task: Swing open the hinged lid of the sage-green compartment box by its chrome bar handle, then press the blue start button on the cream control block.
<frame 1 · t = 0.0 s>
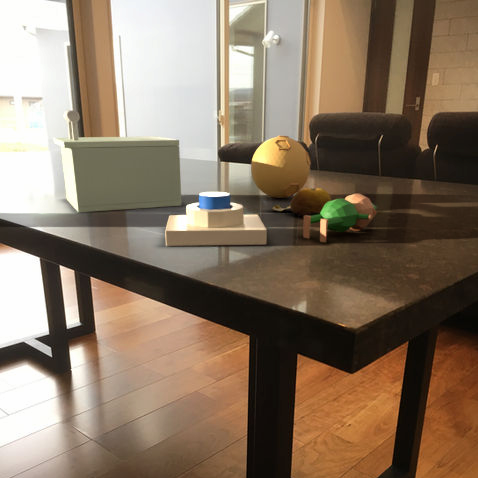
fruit: (307, 213, 76), on the table
control block: (215, 236, 61), on the table
lid: (113, 127, 79), point 11 cm above the table, hinge at 0.0°
compartment: (122, 202, 83), on the table
button: (214, 201, 59), point 4 cm above the table, slide at 0.1 cm
stress ball: (279, 198, 89), on the table
figurine: (346, 234, 63), on the table
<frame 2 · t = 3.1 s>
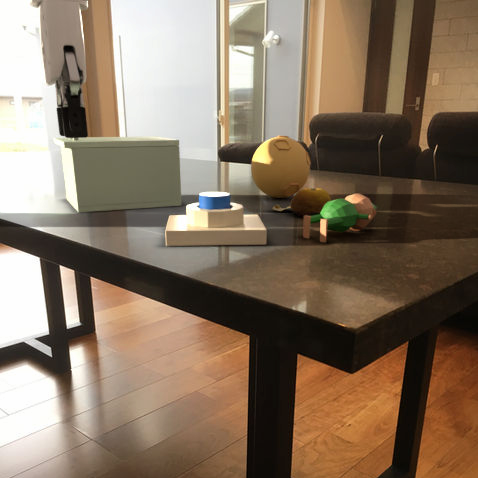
hand: (73, 135, 77), 10 cm above the table, tool pointing down, fingers closed on lid, 5 cm apart
lid: (113, 127, 79), point 11 cm above the table, hinge at 0.0°, touching gripper
everything else where it was.
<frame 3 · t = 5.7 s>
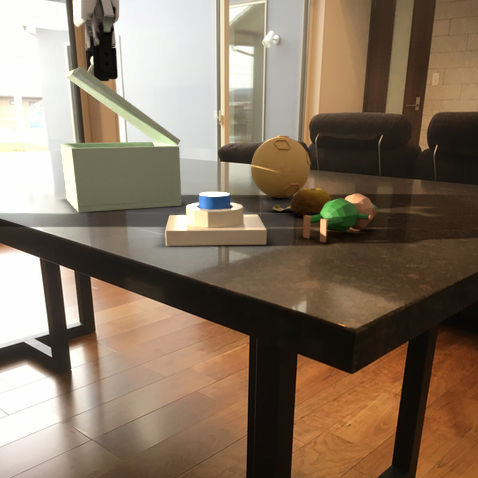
hand: (102, 78, 76), 18 cm above the table, tool pointing down, fingers closed on lid, 5 cm apart
lid: (129, 96, 78), point 16 cm above the table, hinge at 35.2°, touching gripper
everything else where it was.
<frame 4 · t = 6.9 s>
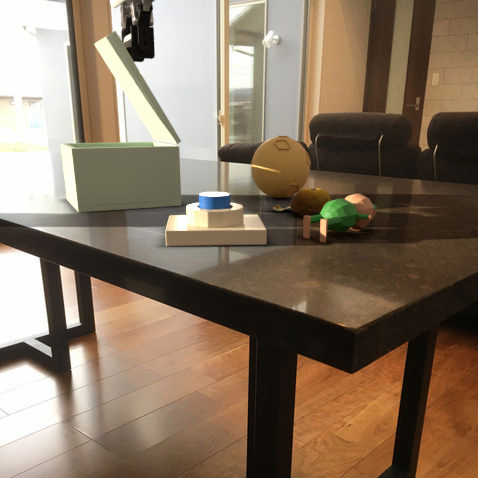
hand: (138, 58, 77), 21 cm above the table, tool pointing down, fingers closed on lid, 5 cm apart
lid: (147, 84, 78), point 17 cm above the table, hinge at 58.4°, touching gripper
everything else where it was.
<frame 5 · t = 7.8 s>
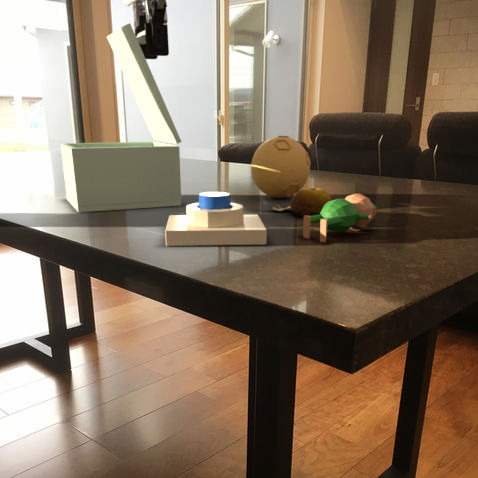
hand: (152, 55, 77), 21 cm above the table, tool pointing down, fingers closed on lid, 5 cm apart
lid: (154, 82, 79), point 18 cm above the table, hinge at 66.3°, touching gripper
everything else where it was.
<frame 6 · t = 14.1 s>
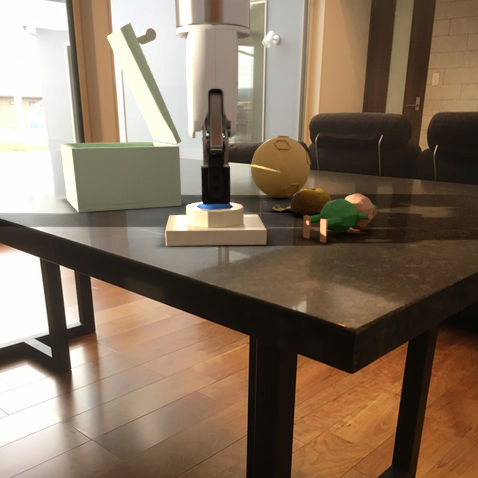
hand: (216, 202, 59), 4 cm above the table, tool pointing down, fingers closed
lid: (155, 82, 79), point 18 cm above the table, hinge at 66.5°
button: (214, 210, 60), point 3 cm above the table, slide at -0.9 cm, touching gripper
everything else where it was.
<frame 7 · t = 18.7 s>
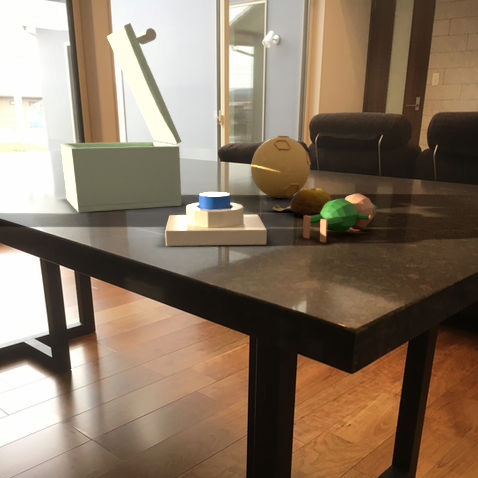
button: (214, 201, 59), point 4 cm above the table, slide at 0.1 cm
everything else where it was.
at the end: lid at +66° (first picture: +0°); button pushed in 1.1 cm at the most during the clip, back to where it started at the end; button slide at 0.1 cm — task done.
